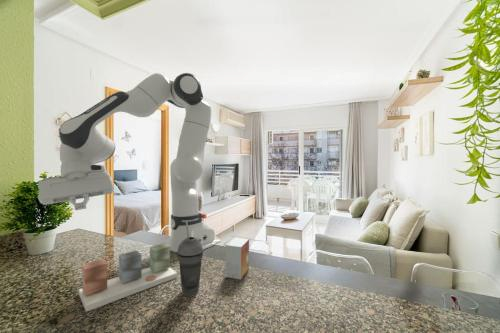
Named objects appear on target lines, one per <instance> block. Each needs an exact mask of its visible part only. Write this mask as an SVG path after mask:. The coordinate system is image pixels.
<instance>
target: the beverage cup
mask: <svg viewBox="0 0 500 333" xmlns="http://www.w3.org/2000/svg"><path fill="white" fill-rule="evenodd" d="M186 230H187V238H186V239H184V240H183V241H182V242H181V243H180V245H179V247H178V252H176V255H177V259H178V263H179V274H180V288H181V291H182V292H181V294H182V295H183V296H184V297H193V295H194V296H196V295H197V294H199V288H200V281H201V280H200V279H201V270H202V261H203V260H202V259H203V256H204V255H203V254H204V250H203V247H202V244H201V242H200V241H199V240H198V239H197V238H195V237H189V231H188V222H186Z"/></svg>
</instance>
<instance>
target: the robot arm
mask: <svg viewBox="0 0 500 333" xmlns="http://www.w3.org/2000/svg"><path fill="white" fill-rule="evenodd" d="M203 98H204V95H203V90H202V85H201V83H200V81H199V78H197V76H196V75H194V74H193V73H189V72H183V73H181V74H179V75H177V76H176V78H174V80H170V79H168V78H167V77H166V76H165V75H164V74H161V73H153V74H151V75H149V76H148V77H146V78H145V79H143V80H141V82H139V83H138V84H136V86H135V87H134V88H133V89H131V90H128V91H116V92H114V93H111V94H110V95H108V96H106V98H104V99H102V100H100V101H99V102H98V103H95V104H94V105H92V106H91V107H89V108H88V109H86V110H84V111H83V112H82V113H80V114H78V115H76V116H74V117H71V118H69V119H67V120H66V121H64V122H63V123H62V124H61V125H60V127H59V129H58V135H59V140H60V141H61V143H60V148H59V160H60V162H61V164H60V176H59V175H58V176H53V177H45V178H43V179H41V180H40V181H38V182H37V189H38V196H37V197H38V198H37V199H38V201H39V203H40V204H42V205H44V206H47V205H52V204H57V203H62V202H70V203H71V205H73V207H74V211H80V210H81V211H82V210H86V209H87V204H88V202H89V200H90V198H93V197H98V196H104V195H110V194H113V193H114V191H115V190H114V184H113V180H112V178H111V175H110V173H108V172H107V168H106V166H105V165H101V164H99V163H102V162H104V161H106V160H109V159H111V157H113V155H114V153H115V151H116V143H115V141H113V139H111V138H110V137H109V136H107V135H106V134H104V133H102V132H101V131H100V130H99V129H98V128H96V127H97V126H99V124H100V123H102V122H104V121H105V120H106V119H108V118H110V117H111V116H112V115H114V114H117V113H121V112H122V113H127V114H129V115H132V116H133V117H137V118H147V117H148V118H149V117H151V116H152V115H154V114H155V112H157V110H158V109H159V108H161V106H162V105H163V104H164V103H165V102H168V103H170V104H172V105H173V106H175V107H177V108H180V109H184V110H185V116H184V120H183V124H182V126H181V131H180V136H179V139H178V146H177V153H176V157H175V158H174V159H173V160H172V162H171V164H170V170H169V171H170V172H169V173H170V185H171V186H170V188H171V215H170V229H171V230H170V238H169V243H168V246H170V252H174V253H177V252H178V247H179V245H180V243H181V242H182V241H183V240H184V239H186V238H187V230H186V222H188V231H189V237H195V238H197V239H198V240H199V241H200V242H201V244H202V247H203V251H205V250H206V249H208V248H211V247H213V246H215V245H218V244H219V243H221V239H220V238H219V237H217V236H216V234H215V230H214V227H212V226H211V225H209V224H208V223H207V222H205V221H204V220H203V219H206V218H207V214H206V213H201V212H200V210H199V205H200V204H199V195H200V194H199V190H198V185H197V181H198V180H199V179H200V178H201V177H202V174H203V165H204V157H205V146H206V142H207V138H208V135H209V130H210V126H211V118H212V106H211V105H210V104H209V103H208V102H206V101H204V100H203ZM80 199H83V201H82V202H77V200H80Z"/></svg>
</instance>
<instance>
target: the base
mask: <svg viewBox="0 0 500 333" xmlns="http://www.w3.org/2000/svg"><path fill="white" fill-rule="evenodd" d="M177 278H178V272H176V270H174V269H172V267H170V268H167V269H164V270H161V271H158V272H153V271H152V270H151V269H150V266H149V267H145V268H141V277H140V278H137V279H134V280H131V281H128V282H125V283H123V282H122V281H121V280H120V278H119V276H117V277H113V278H110V279H107V289H105V290H102V291H99V292H96V293H93V294H90V295H87V296H85V294H84V292H83V287H81V288H79V289H78V295H79V298H80V300H81V303H82V304H83V307H84V311H85V312H86V313H87V312H89V311H92V310H95V309H97V308H100V307H103V306H104V305H108V304H110V303H114V302H115V301H118V300H119V301H120V299H121V300H122V299H124V298H126V297H129V296H132V295H134V294H137V293H139V292H143V291H145V290H148V289H151V288H153V287H155V286H158V285H161V284H164V283H166V282H168V281H171V280H174V279H177Z"/></svg>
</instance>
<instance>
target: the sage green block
mask: <svg viewBox="0 0 500 333" xmlns="http://www.w3.org/2000/svg"><path fill="white" fill-rule="evenodd" d="M149 267H150V269H151V270H152V271H153V272H158V271H161V270H164V269H167V268H171V250H170V246H169V244H167V243H161V244H157V245H153V246H149Z"/></svg>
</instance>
